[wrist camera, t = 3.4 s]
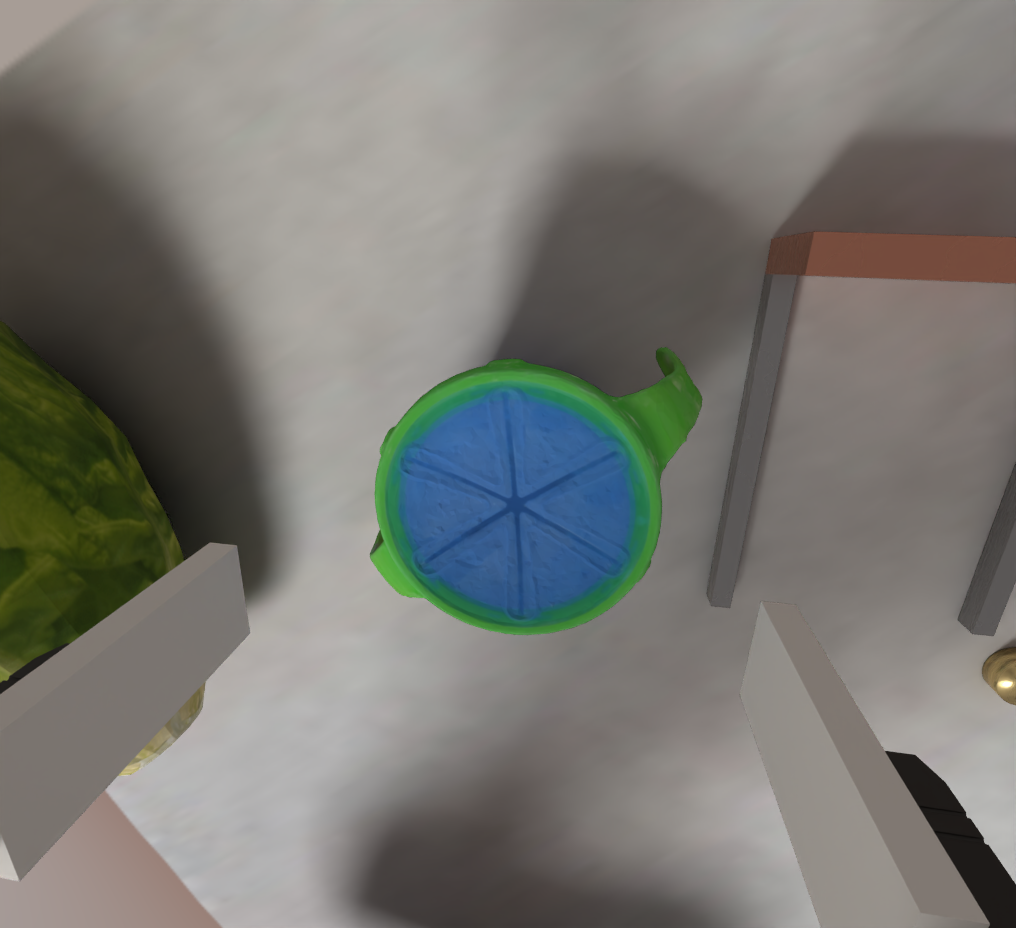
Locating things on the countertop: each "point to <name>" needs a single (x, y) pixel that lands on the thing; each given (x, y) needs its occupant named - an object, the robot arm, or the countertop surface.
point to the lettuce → (71, 522)
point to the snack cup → (527, 493)
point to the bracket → (834, 254)
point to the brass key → (1002, 674)
